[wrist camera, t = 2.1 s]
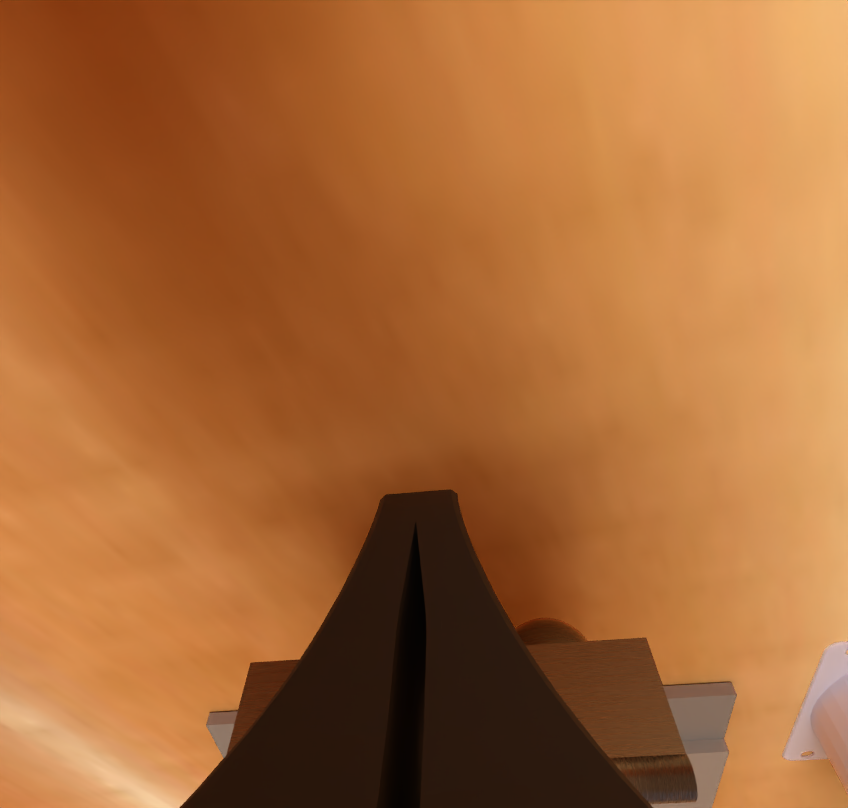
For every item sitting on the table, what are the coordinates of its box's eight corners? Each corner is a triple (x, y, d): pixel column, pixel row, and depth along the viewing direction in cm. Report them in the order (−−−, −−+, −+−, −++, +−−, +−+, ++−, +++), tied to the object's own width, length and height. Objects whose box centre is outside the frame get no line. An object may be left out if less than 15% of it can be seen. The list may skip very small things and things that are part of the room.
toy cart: (627, 578, 15) (699, 789, 11) (606, 766, 20) (652, 960, 16) (264, 603, 16) (208, 813, 12) (330, 780, 20) (307, 971, 16)
